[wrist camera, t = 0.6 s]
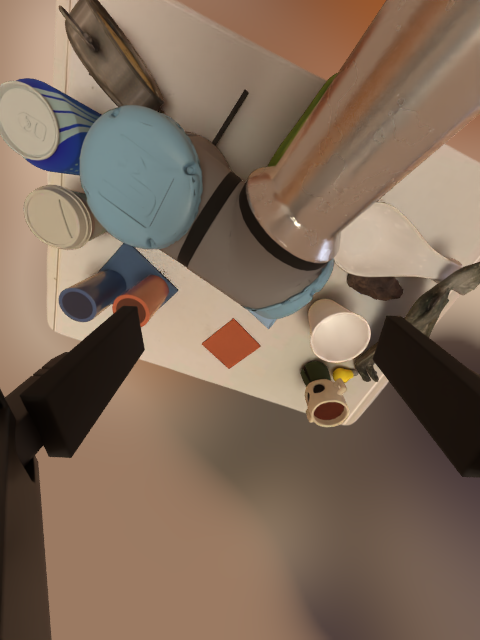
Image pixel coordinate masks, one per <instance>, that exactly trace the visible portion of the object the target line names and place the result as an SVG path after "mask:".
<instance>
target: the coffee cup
mask: <svg viewBox="0 0 480 640" xmlns="http://www.w3.org/2000/svg"><path fill="white" fill-rule="evenodd" d="M23 209H24V217H25V220H26V222H27V225H28V226H29V228H30V230H31V231H32V232H33V234H34V235H35V236H36V237H37V238H38V239H39V240H41V241H42V242H44V243H45V244H47V245H49V246H52V247H56V248H59V249H65V250H73V249H78V248H81V247H82V246H84V245H85V244H86V243H87V242H88V241H90V240H92V239H94V238H95V237H97V236H99V235H101V234H103V233H105V232H107V231H106V230H105V228H104V227H103V226H102V225H101V224H100V223H99V222H98V220H97V219H96V218H95V216H94V215H93V213H92V211H91V209H90V207H89V205H88V203H87V196H86V194H83V193H78V192H74V191H69V190H68V189H66V188H63V187H61V186H57V185H46V186H42V187H39V188H37V189H36V190H34V191H33V192H31V193H30V194H29V195H28V196H27V198H26V200H25V202H24V208H23Z"/></svg>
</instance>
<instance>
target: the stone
mask: <svg viewBox="0 0 480 640" xmlns="http://www.w3.org/2000/svg"><path fill="white" fill-rule="evenodd" d="M347 280H348V282H347V283H348V285H349V287H352V288H353V289H354V290H356V291H357V292H359V293H361V294H365V295H368V296H371V297H372V298H374V299H376V300H377V299H379V300H385V301H388V300H390V299H395V298H396V299H397V298H400V297H401V295H402V294H403V289H402V287H401V286H400V284H399V282H398V280H396V279H395V278H394V277H364V276H357V275H353V274H350V275H349V276H348V279H347Z"/></svg>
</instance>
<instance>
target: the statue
mask: <svg viewBox="0 0 480 640" xmlns="http://www.w3.org/2000/svg"><path fill="white" fill-rule="evenodd" d="M479 284H480V262H478V263H475V264H472V265H468V266H465V267H463V268H460V269H458V270H457V271H455V272H453V273H452V274H451V275H449V276H448V277H447V278H445V279H444V280H442V281H441V282H440V283H438V284H437V285H436V286H434V287H433V288H431V289H430V290H429V291H427V292H426V293H425V294H423V295H422V296H421V297H420V298H419V299H418V300H417V301H416V302H415V303H414V304H413V306H412V307H411V309H410V310H409V312H408V314H407V315H406V317H405V318H404V319H405V320H407V321H408V322H409V323H410V324H412V325H413V326H414V327H416V328H417V329H418V330H419V331H421V332H422V333H423V334H424V335H426V336H427V337H428V338H429V336H430V334H431V332H432V329H433V327H434V325H435V323H436V321H437V320H438V318H439V315H440V313H441V311H442V310H443V308H444V307H445V305H446V304H447V303H448V301H449V300H448V295H449V291H450V290H454V291H456V292H458V293H459V294H461V295H465V294H467V293H468V292H470V291H472V290H474V289H475V288H476V287H477V286H478V285H479ZM377 344H378V342H377V343H376V344H375V345H373V346H372V347H371V348H370V349H368V350H367V351H366V352H365V353H363V354H362V355H361V356H360V357H359V358H358V359H357V360H356V362H355V363H356V364H355V368H356V369H357V371H358V373H359V374H360V375H361V377H362V379H363V380H364V381H366V382H369V381H371V379H370V377H371V378H372V379H373V380H374V381H375V382H378V380H379V378H378V376H377V372H376V371H375V370H374V368H373V365H374V363H375V362H374V361H373V356H374V353H375V350H376V347H377ZM367 372H368V373H367ZM368 374H369V375H370V377H369V375H368Z"/></svg>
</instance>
